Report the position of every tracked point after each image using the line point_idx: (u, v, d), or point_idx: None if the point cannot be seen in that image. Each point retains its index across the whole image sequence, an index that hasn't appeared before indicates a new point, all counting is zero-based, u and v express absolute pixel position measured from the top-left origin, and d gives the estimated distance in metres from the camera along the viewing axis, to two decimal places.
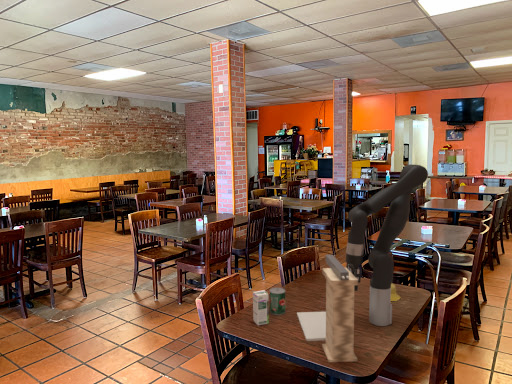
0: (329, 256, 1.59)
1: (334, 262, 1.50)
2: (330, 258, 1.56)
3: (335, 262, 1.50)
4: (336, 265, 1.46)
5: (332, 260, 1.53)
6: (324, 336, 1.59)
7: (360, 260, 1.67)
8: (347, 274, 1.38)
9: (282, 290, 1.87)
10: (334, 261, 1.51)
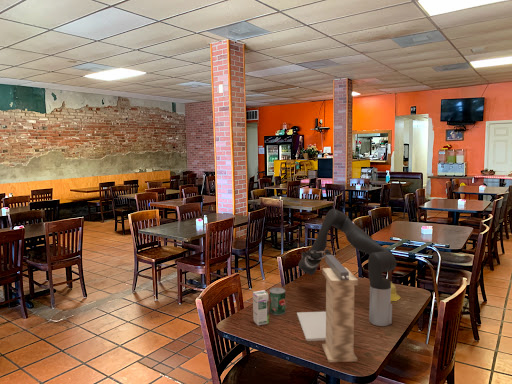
0: (329, 256, 1.59)
1: (334, 262, 1.50)
2: (330, 258, 1.56)
3: (335, 262, 1.50)
4: (336, 265, 1.46)
5: (332, 260, 1.53)
6: (324, 336, 1.59)
7: None
8: (347, 274, 1.38)
9: (282, 290, 1.87)
10: (334, 261, 1.51)
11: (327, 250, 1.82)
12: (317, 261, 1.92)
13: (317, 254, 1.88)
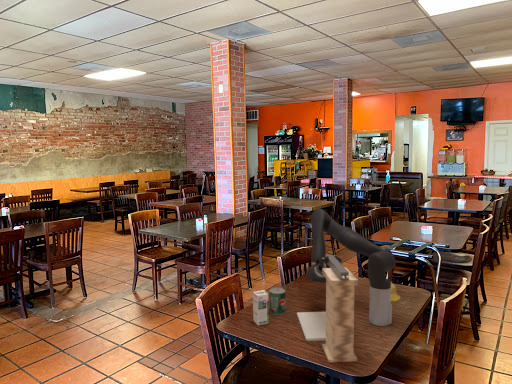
0: (329, 256, 1.59)
1: (334, 262, 1.50)
2: (330, 258, 1.56)
3: (335, 262, 1.50)
4: (336, 265, 1.46)
5: (332, 260, 1.53)
6: (324, 336, 1.59)
7: None
8: (347, 274, 1.38)
9: (282, 290, 1.87)
10: (334, 261, 1.51)
11: (336, 257, 1.56)
12: None
13: None
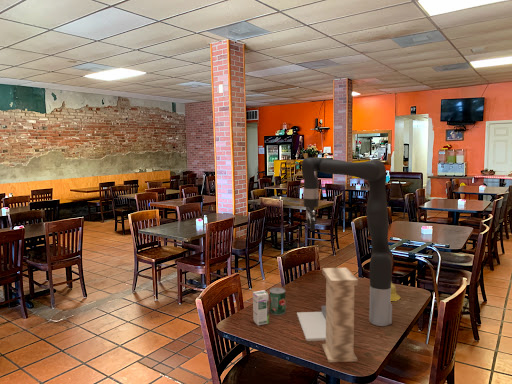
0: None
1: None
2: None
3: None
4: None
5: None
6: (324, 336, 1.59)
7: (315, 203, 1.86)
8: None
9: (282, 290, 1.87)
10: None
11: None
12: None
13: None
